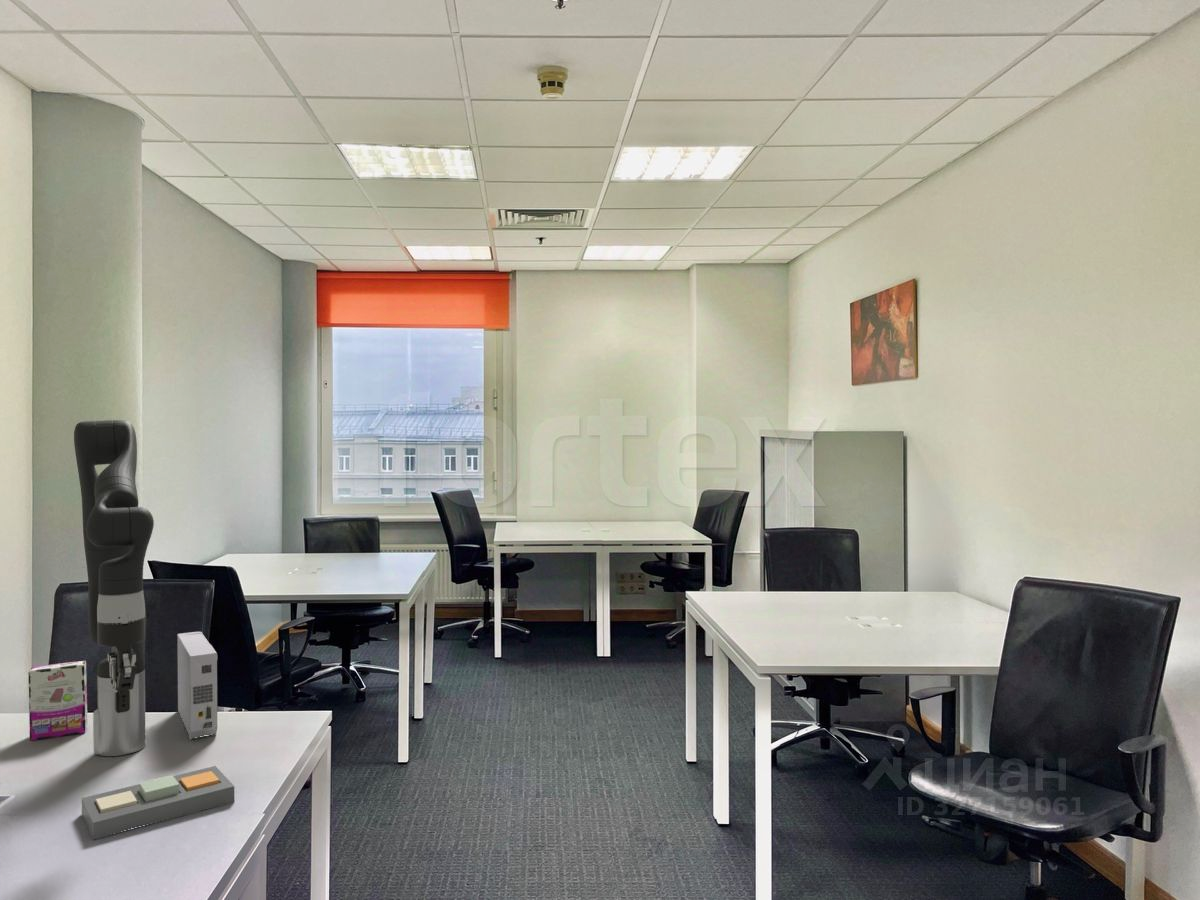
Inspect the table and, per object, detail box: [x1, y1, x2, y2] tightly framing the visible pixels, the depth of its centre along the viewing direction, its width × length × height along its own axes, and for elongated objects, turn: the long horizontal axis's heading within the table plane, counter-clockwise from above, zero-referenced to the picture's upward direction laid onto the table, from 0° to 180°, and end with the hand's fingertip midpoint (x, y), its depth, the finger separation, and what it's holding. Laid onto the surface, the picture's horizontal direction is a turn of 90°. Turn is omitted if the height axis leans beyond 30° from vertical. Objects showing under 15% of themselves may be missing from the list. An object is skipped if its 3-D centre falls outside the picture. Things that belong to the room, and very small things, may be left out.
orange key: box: [180, 771, 219, 791], centre depth 156 cm, size 6×6×2 cm
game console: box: [177, 631, 218, 738], centre depth 198 cm, size 6×27×20 cm, turn 33°
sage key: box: [139, 774, 179, 802], centre depth 151 cm, size 6×6×2 cm
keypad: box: [81, 765, 235, 841], centre depth 151 cm, size 23×13×3 cm, turn 130°
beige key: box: [96, 791, 137, 814], centre depth 147 cm, size 6×6×2 cm
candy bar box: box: [27, 660, 88, 742], centre depth 191 cm, size 11×5×16 cm, turn 117°
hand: (122, 711), depth 148 cm, fingers closed
